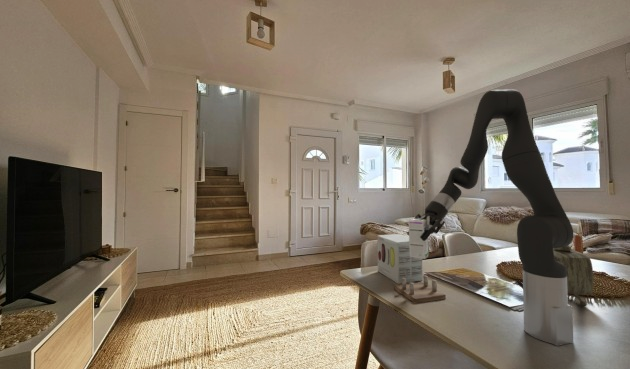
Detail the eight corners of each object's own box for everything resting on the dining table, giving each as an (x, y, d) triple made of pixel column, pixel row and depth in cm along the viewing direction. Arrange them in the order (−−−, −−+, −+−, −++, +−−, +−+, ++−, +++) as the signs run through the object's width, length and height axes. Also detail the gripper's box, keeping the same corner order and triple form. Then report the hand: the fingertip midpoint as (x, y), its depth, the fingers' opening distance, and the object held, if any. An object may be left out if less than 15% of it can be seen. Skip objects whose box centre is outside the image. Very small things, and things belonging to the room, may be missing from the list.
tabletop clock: (594, 309, 84) (592, 234, 85) (562, 307, 86) (560, 233, 87) (561, 292, 99) (559, 228, 99) (534, 290, 100) (533, 227, 101)
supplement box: (376, 271, 125) (376, 235, 125) (399, 269, 129) (399, 233, 129) (398, 284, 108) (397, 242, 109) (423, 280, 112) (423, 239, 113)
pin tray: (445, 298, 94) (445, 283, 94) (415, 303, 90) (414, 287, 90) (422, 285, 106) (422, 272, 106) (395, 289, 103) (394, 275, 103)
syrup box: (425, 259, 94) (424, 220, 95) (408, 257, 98) (408, 219, 98) (428, 256, 99) (428, 219, 99) (413, 253, 103) (412, 218, 103)
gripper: (422, 199, 108) (398, 228, 105) (447, 201, 94) (421, 234, 91) (433, 211, 109) (410, 240, 106) (459, 214, 95) (434, 247, 92)
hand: (415, 237), depth 98 cm, fingers closed on syrup box, 7 cm apart
